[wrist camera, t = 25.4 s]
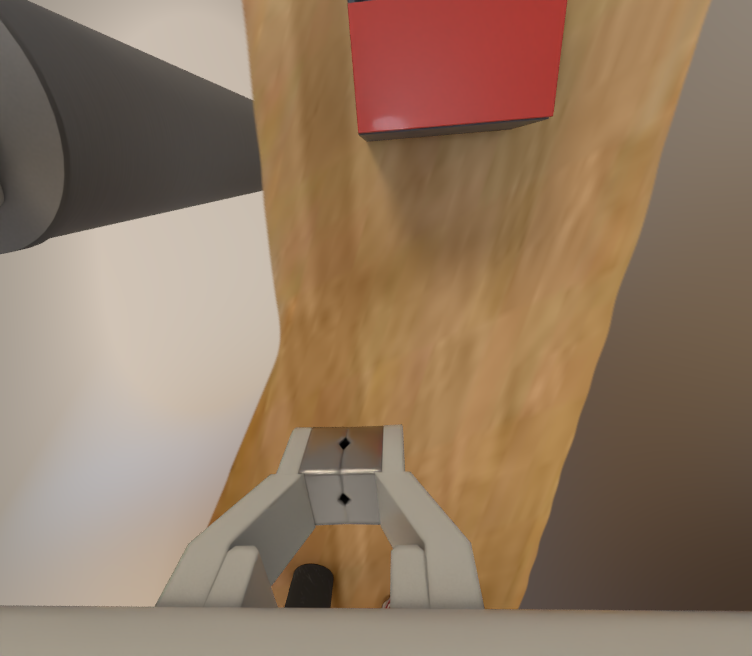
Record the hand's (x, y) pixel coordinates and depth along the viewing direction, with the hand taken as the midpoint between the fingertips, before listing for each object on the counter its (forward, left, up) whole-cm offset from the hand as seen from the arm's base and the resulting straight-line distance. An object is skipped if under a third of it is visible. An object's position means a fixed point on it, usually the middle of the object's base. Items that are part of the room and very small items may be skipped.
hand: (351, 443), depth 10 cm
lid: (+10, +9, -20) cm, 24 cm away
